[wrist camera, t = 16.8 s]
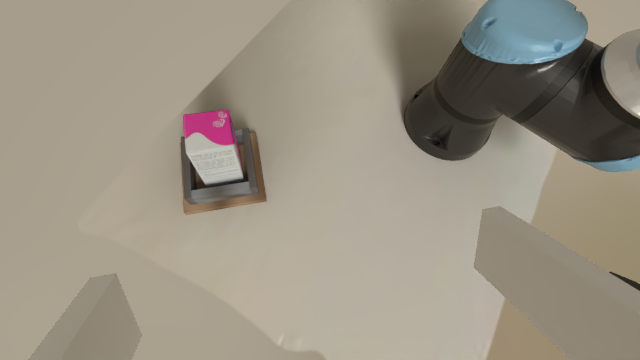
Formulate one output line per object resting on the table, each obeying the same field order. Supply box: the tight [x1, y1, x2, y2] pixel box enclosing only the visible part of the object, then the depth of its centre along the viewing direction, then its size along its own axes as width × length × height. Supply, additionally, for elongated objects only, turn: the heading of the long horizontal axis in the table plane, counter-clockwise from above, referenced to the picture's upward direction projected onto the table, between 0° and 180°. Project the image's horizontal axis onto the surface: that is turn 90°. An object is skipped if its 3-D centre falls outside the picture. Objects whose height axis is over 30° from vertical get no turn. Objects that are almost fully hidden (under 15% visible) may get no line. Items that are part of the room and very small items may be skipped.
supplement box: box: [183, 110, 245, 188], centre depth 42 cm, size 6×6×12 cm
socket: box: [181, 128, 267, 215], centre depth 46 cm, size 12×12×4 cm
